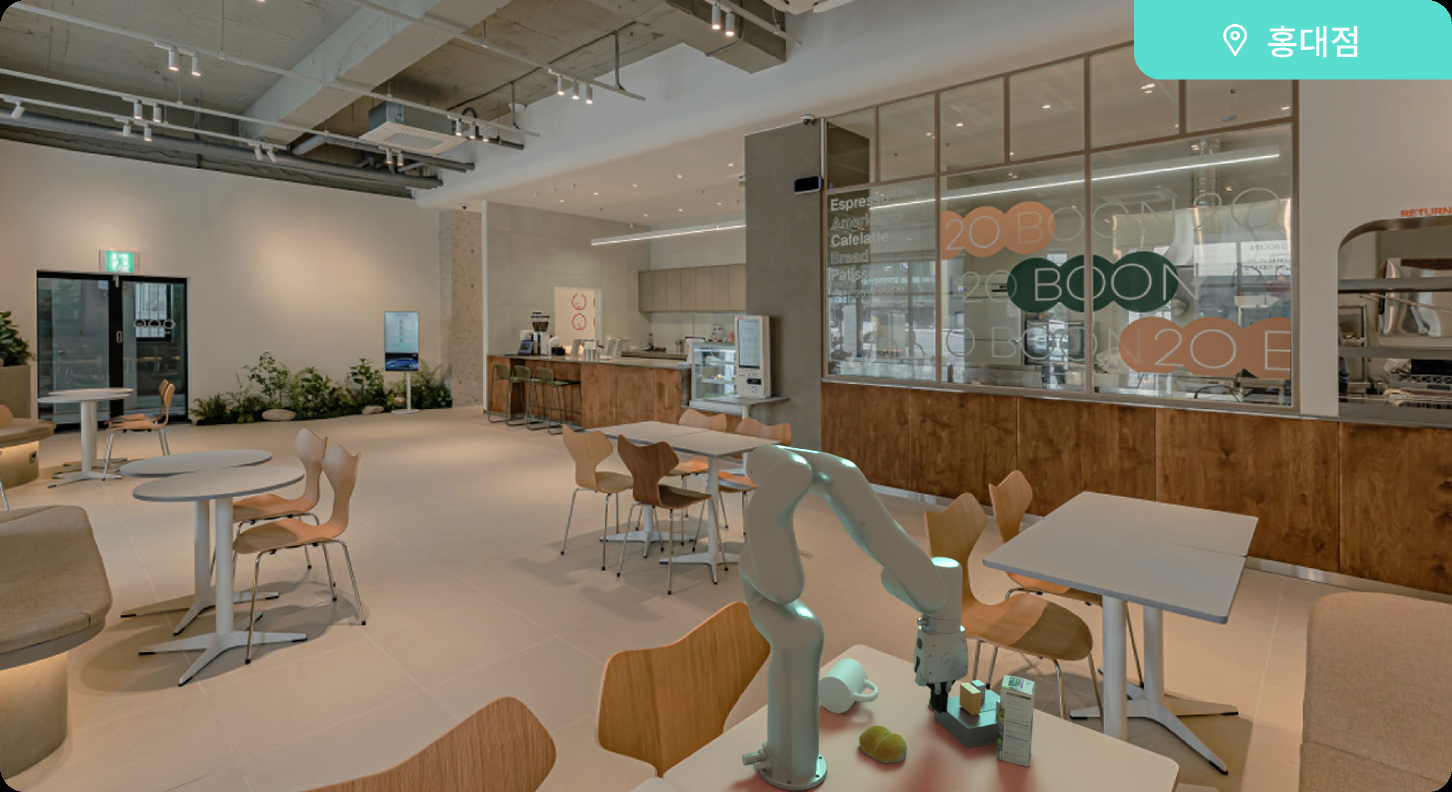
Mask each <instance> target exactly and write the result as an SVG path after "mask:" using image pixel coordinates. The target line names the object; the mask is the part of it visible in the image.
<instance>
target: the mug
mask: <svg viewBox="0 0 1452 792" xmlns="http://www.w3.org/2000/svg"><path fill="white" fill-rule="evenodd" d="M865 689H869V690H872V691H873V693H870V694H863V692H864V691H865ZM878 696H879V689H878V687H877V685H876V684H875V683H873V682H872V681H869V680H868V675H867V671H866V670H865V668H864V666H863V665H862V664H861V663H859V662H858V661H857V660H855V659H853V658H842V659H840V660H838V661H837V662H836V663H835V664H834V665H833V666H832V667H831V669H829V670H828V672H826V674H824V676H823V677H822V678H821V679H819V703H820V704H821V705H822V706H823V707H824V708H825V709H826V710H827V711H829V712H831V713H834V714H844V713H846V712H847V711H848V710H850V708H851V706H852V705H854V703H855V702H859V703H872V702H873V701H876V700H877V698H878Z"/></svg>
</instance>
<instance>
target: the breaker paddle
mask: <svg viewBox="0 0 1452 792" xmlns="http://www.w3.org/2000/svg"><path fill="white" fill-rule="evenodd" d="M959 696H960V706H962V707H963V708H964V709H965V710H967V711H968V712H969V713H970V714H971V715H974V714H979V713H980V709H981V692H980V691H979V690H978V689H976V688H975V687H974V686H972V685H971V682H963V683H959Z"/></svg>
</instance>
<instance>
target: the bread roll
mask: <svg viewBox="0 0 1452 792" xmlns="http://www.w3.org/2000/svg"><path fill="white" fill-rule="evenodd" d="M858 737H859V738H858V743H859V747H860V749H861V750H862V752H863V753H864V754H866V755H868V756H869V757H870V758H873V759H874V760H875V761H876V762H879V763H882V764H895V763H900V762H902V761H903V760H904V759H905V758H906V756H907V751H908V746H907V743H906V741H905V739H904V737H903V736H902V735H900V734H898V733H895V732H892V731H891V730H890V729H888V728H887V727H885V726H884V725H876V724H875V725H872V726H870V727H868V728H867V729H865V730H864V731H863V732H862V733H861V734H860V735H859V736H858Z"/></svg>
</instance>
